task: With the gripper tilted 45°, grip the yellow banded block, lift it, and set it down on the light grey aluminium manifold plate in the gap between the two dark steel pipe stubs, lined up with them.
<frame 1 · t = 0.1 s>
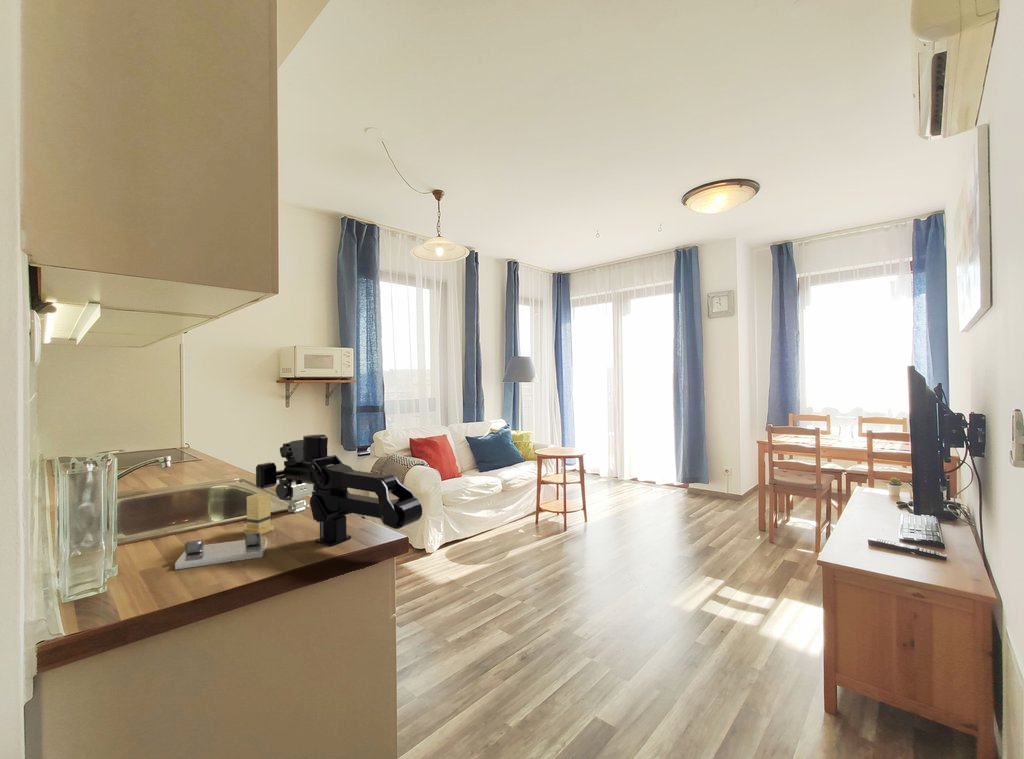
hand: (272, 467, 129), 17 cm above the counter, tool horizontal, fingers open, 9 cm apart
manifold plate: (224, 555, 107), on the counter
yellow banded block: (258, 531, 124), on the counter
pneumatic valve: (297, 512, 142), on the counter
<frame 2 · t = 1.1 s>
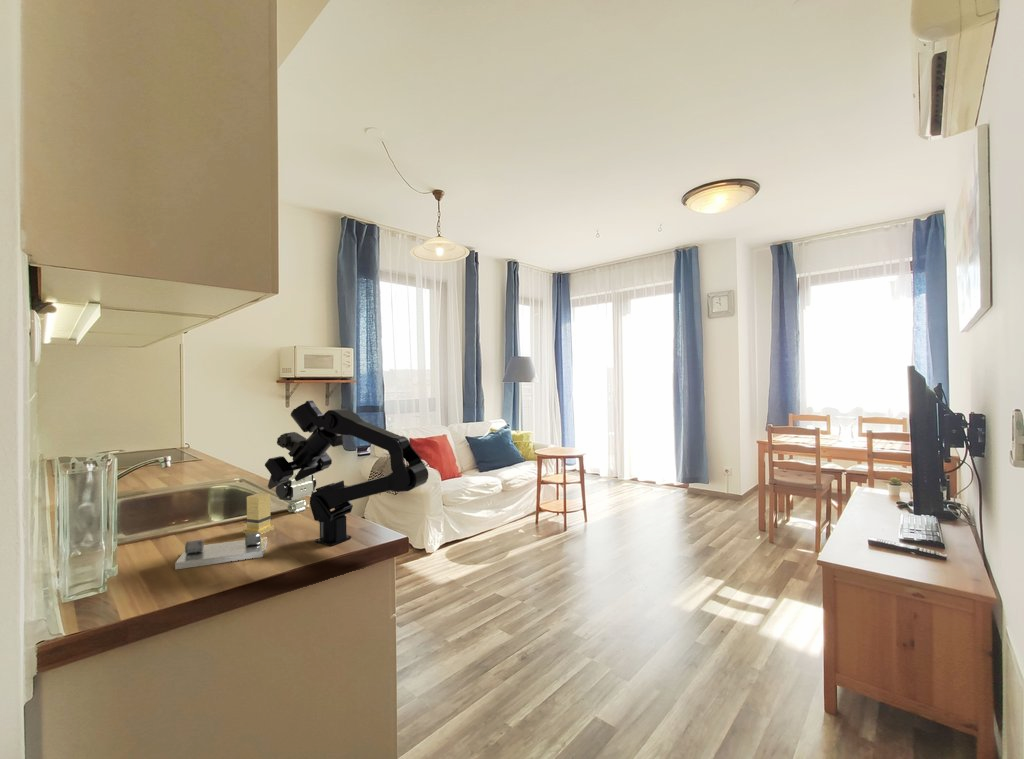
hand: (282, 483, 121), 14 cm above the counter, tool tilted 45°, fingers open, 9 cm apart
nothing on the counter moved.
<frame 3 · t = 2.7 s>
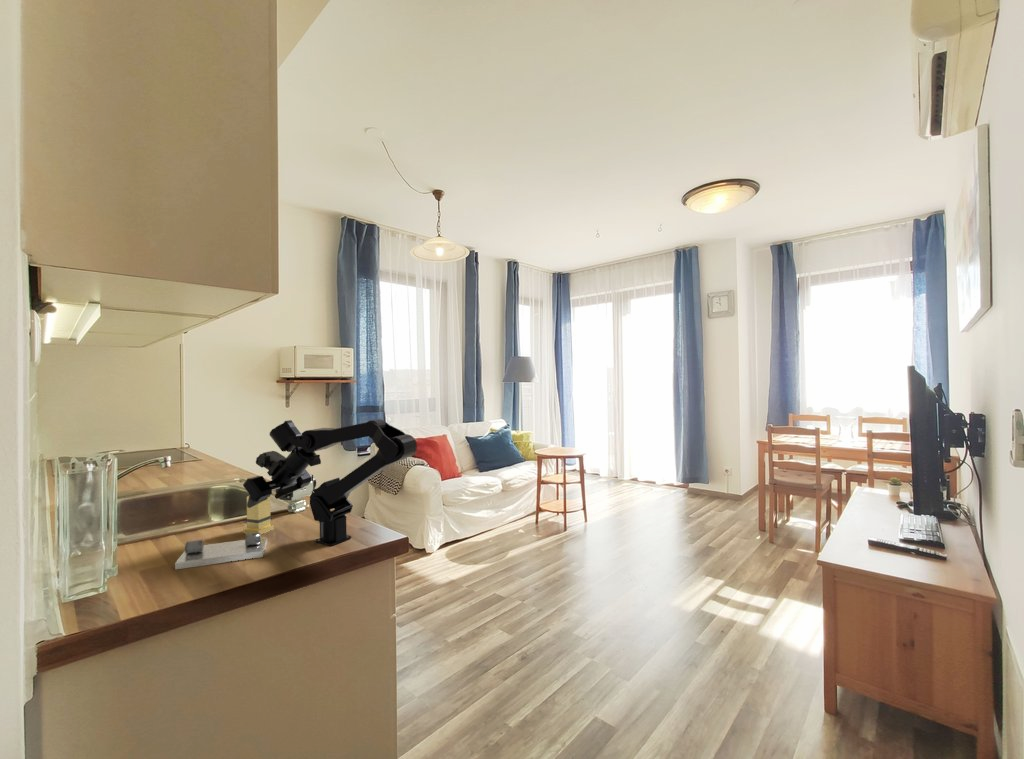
hand: (262, 501, 123), 8 cm above the counter, tool tilted 45°, fingers open, 9 cm apart
nothing on the counter moved.
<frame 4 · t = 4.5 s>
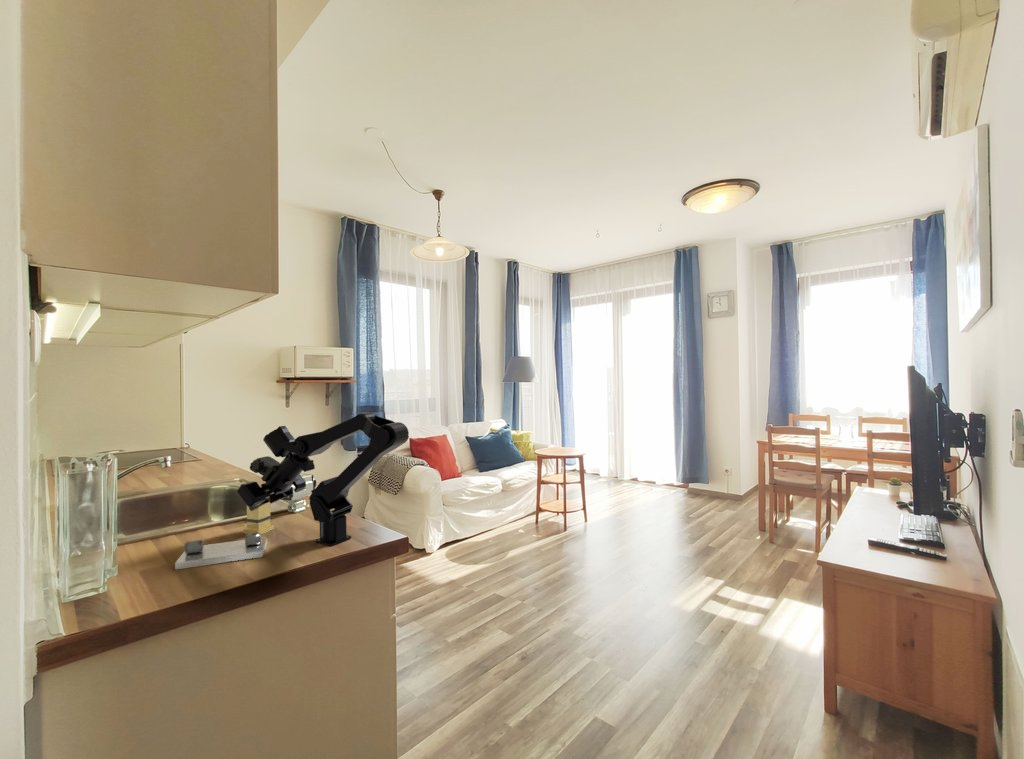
hand: (257, 507, 124), 7 cm above the counter, tool tilted 45°, fingers closed on yellow banded block, 4 cm apart
yellow banded block: (258, 531, 124), on the counter, touching gripper
everything else where it was.
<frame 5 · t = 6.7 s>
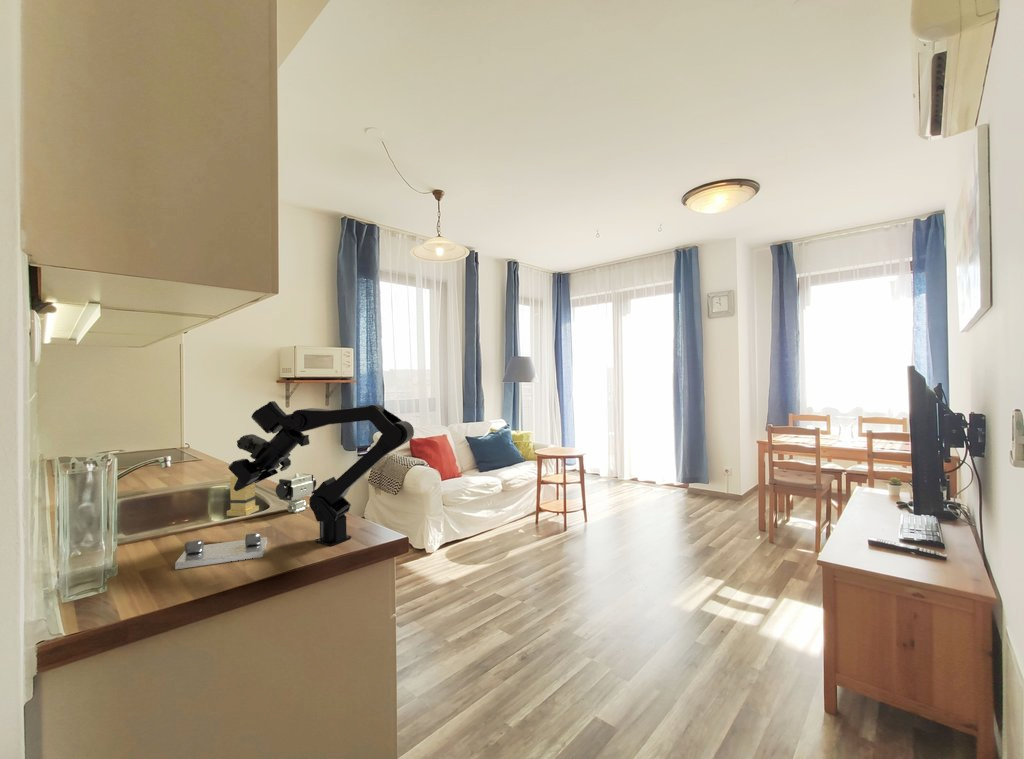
hand: (240, 487, 118), 13 cm above the counter, tool tilted 45°, fingers closed on yellow banded block, 4 cm apart
yellow banded block: (243, 512, 118), point 7 cm above the counter, touching gripper
everything else where it was.
when the fingers open (9 cm above the counter, at t = 9.3 s): yellow banded block drops 1 cm, resting on manifold plate.
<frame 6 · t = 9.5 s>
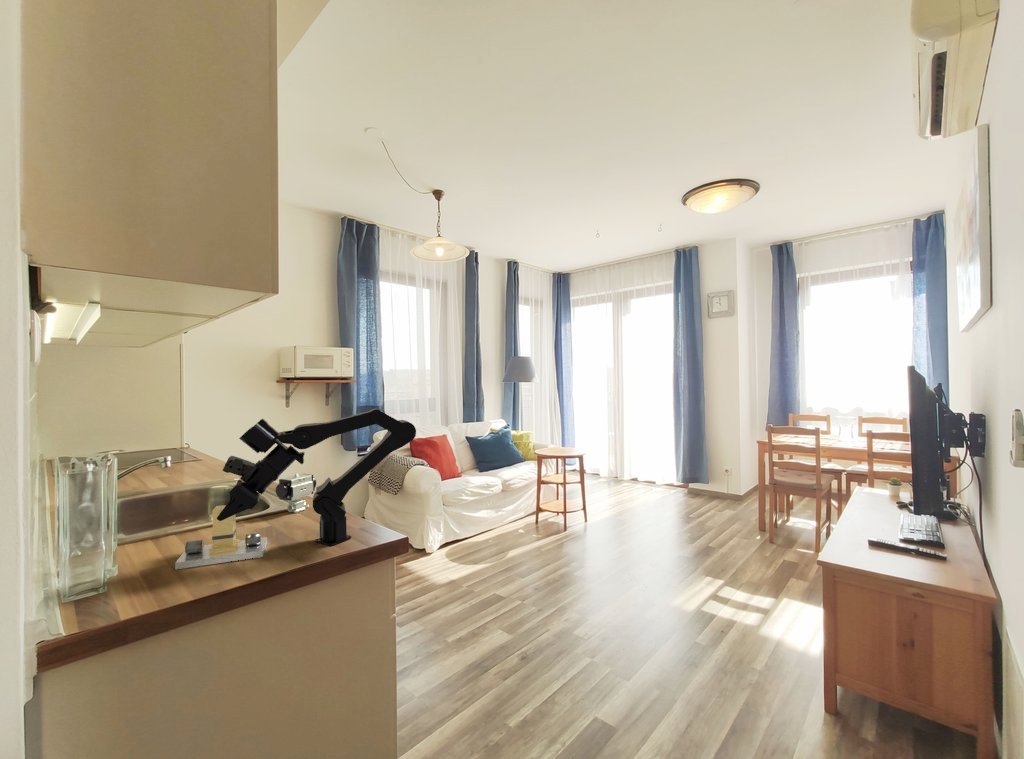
hand: (221, 515, 107), 10 cm above the counter, tool tilted 45°, fingers open, 6 cm apart
yellow banded block: (224, 548, 107), point 1 cm above the counter, touching manifold plate
everything else where it was.
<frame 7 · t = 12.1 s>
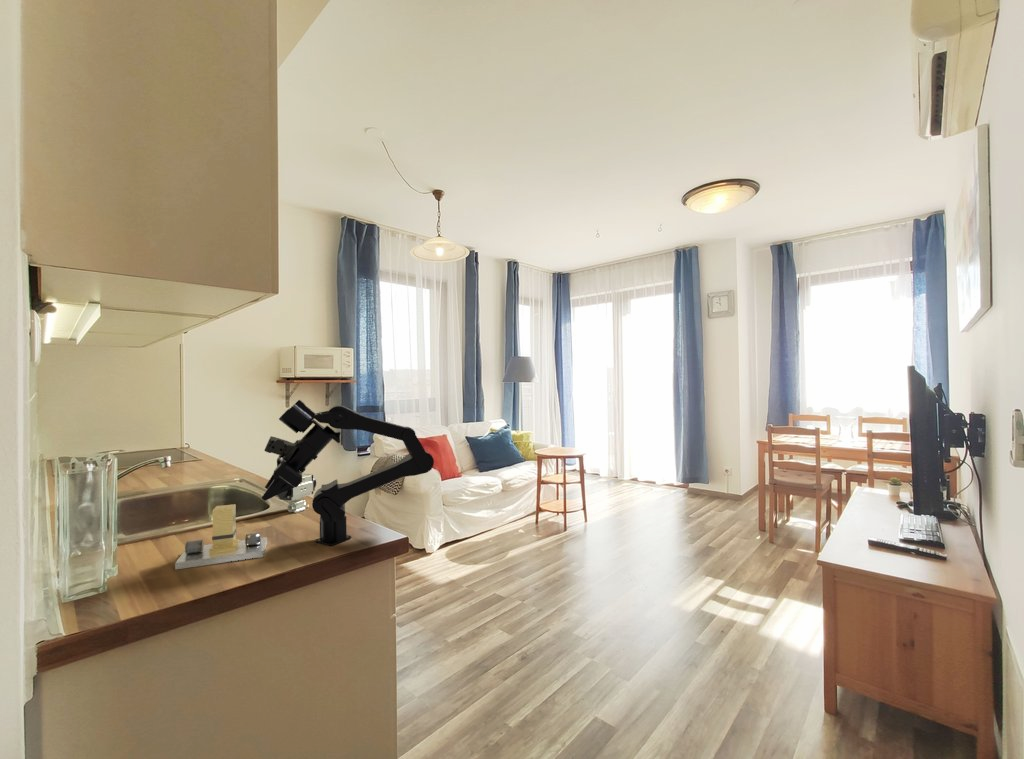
hand: (264, 493, 111), 14 cm above the counter, tool tilted 45°, fingers open, 9 cm apart
nothing on the counter moved.
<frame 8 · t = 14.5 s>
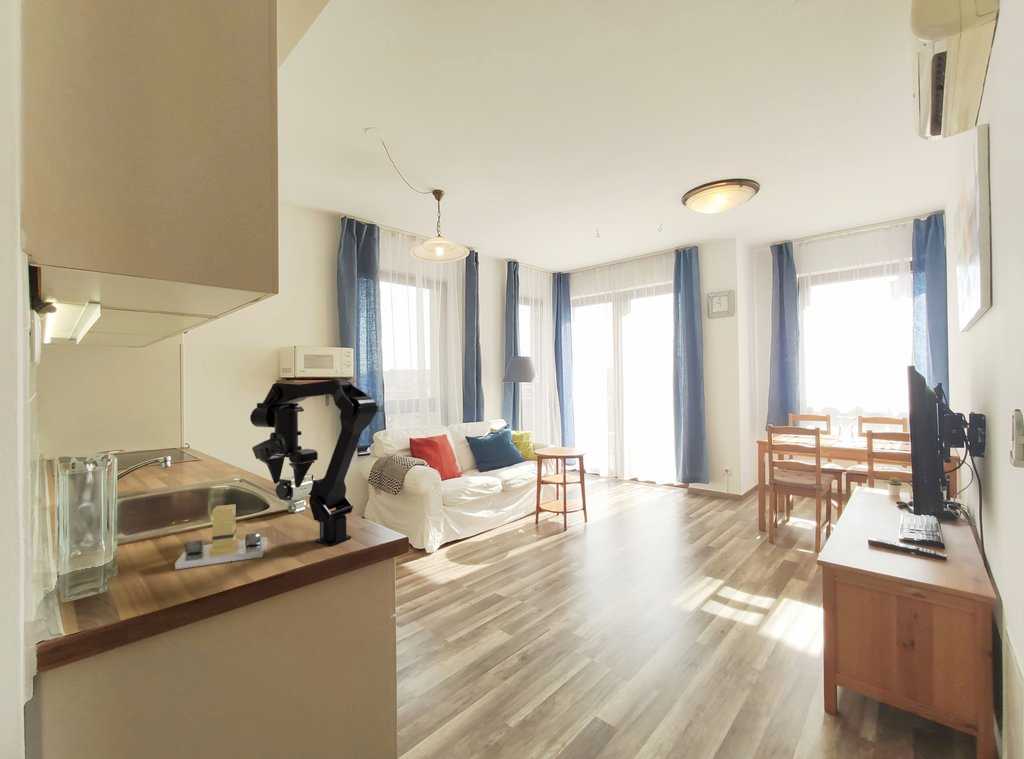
hand: (286, 485, 123), 13 cm above the counter, tool pointing down, fingers open, 9 cm apart
nothing on the counter moved.
at the end: yellow banded block 0.0 cm off-centre on the manifold plate, point 1.5 cm above the manifold plate's base; yellow banded block tilted 0°; the gripper is holding nothing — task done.
